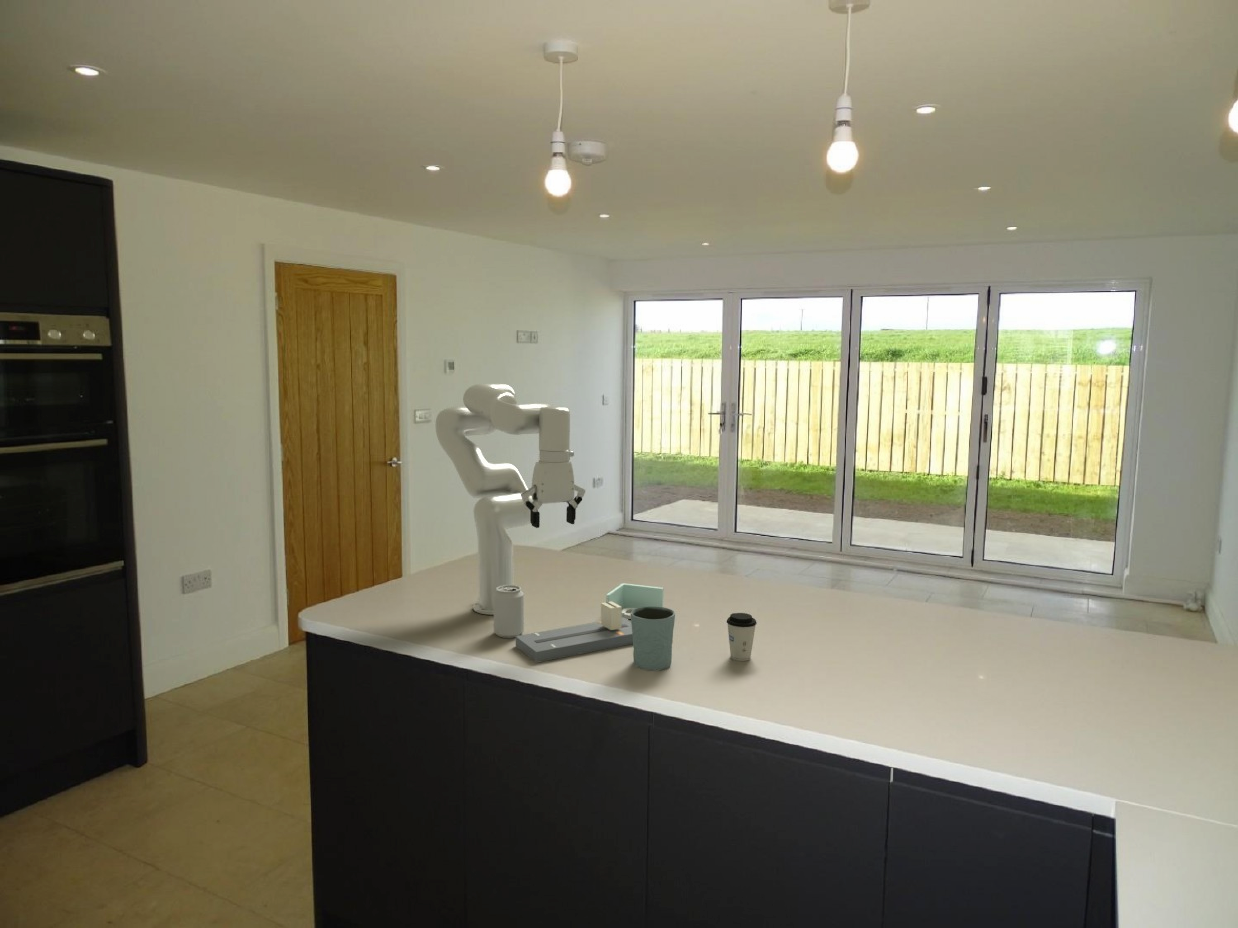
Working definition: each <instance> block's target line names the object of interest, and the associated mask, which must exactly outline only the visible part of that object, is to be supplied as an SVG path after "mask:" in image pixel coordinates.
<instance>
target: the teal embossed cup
mask: <svg viewBox="0 0 1238 928" xmlns="http://www.w3.org/2000/svg"><path fill="white" fill-rule="evenodd" d="M675 618H676V612H675V611H674V610H673V609H671V608H668V607H664V606H663V607H654V606H649V607H640V608H636V609H634V610H633V611H631V620H630V621H631V624H632V634H633V644H632V645H633V652H632V654H633V664H634V666H635V667H636V668H637V669H638V668H639V669H640V670H641V669H642V670H645V671H661V670H665V669H666V670H667V669H668V668H670V666H671V665H672V657H673V652H672V651H673V641H674V640H673V639H674V627H675V620H676V619H675Z"/></svg>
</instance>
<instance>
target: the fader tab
mask: <svg viewBox="0 0 1238 928" xmlns="http://www.w3.org/2000/svg"><path fill="white" fill-rule="evenodd" d="M600 621H601V625H603V626H604V627H606V628H608V629H610V630H615V629H621V623H622V607H621V606H619V605H617V604H616V603H614V602H612V601H611V602H606V601H605V602H601V603H600Z"/></svg>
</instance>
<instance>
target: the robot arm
mask: <svg viewBox="0 0 1238 928" xmlns="http://www.w3.org/2000/svg"><path fill="white" fill-rule="evenodd" d="M462 402H463V405H459V406H457V405H455V406H450V407H447V408H444V409H442V410H440V411H439V412H438V414H437V415H436V418H435V433H436V437H437V440H438V442H439V445H440V446H441V448H442V449H443V450H444V452H445V454H446V455H447V456H448V458H450V460H451V462H452V464H453V466H454V467H455V468H454V469H456V472H457V475H458V476H459V478H460V480H461V482H462V484H463V486H464V488H465V489H466V491H467V493H468V494H469V496H470V497H472V498H474V499H479V500H478V501H477V502H476V503H475V504H474V507H473V518H474V523H475V527H476V535H477V536H476V537H477V557H478V559H477V560H478V563H477V564H478V565H477V566H478V567H477V568H478V569H477V570H478V600H477V601H475V602H474V603H473V604H472V608H473V611H475V612H476V613H478V614H482V615H490V616H494V601H493V595H494V593H495V592H496V588H497V587H499V586H503V585H515V584H514V582H515V581H514V544H513V542H512V539H511V538H510V536H509V535H508V533H507V531H506V530H508V529H513V528H518V527H524V526H528V525H531V526H532V527H534V528H535V529H538V528H540V526H541V525H540V519H541V518H540V517H541V515H540V514H541V513H540V511H539V509H540V508H541V507H542V505H545V504H546V505H547V504H559V503H566V504H567V505H568V506H566V523H568V524H570V525H575V521H576V519H577V518H576V517H577V516H576V513H577V512H576V511H577V508H578V507H579V504H580V503H581V502H582V501H583V498H584V496H585V494H586V489H584V488H583V487H580V486H578V485H577V484H575V476H574V469H573V464H572V461H570V460H571V457H572V458H573V457H574V456H575V452H574V450H573V451H571V449H570V444H571V443H570V442H571V441H570V437H571V433H570V432H571V430H570V429H571V413H570V410H569V409H568V408H567V407H565V406H557V405H555V406H554V405H553V404H550V403H544V402H543V403H540V402H539V403H518V401H517V396H516V393H515V390H514V389H513V388H512V386H510V385H508V384H506V383H477V384H473V385H471V386H469V387H468V388H467V389H466V390H465V391H464V393H463V397H462ZM497 430H498V431H500V432H503V433H506V434H509V435H514V436H519V435H520V436H521V435H531V434H532V435H533V434H535V435H536V434H538V461H535V463H534V467H533V472H532V478H531V479H532V480H531V487H530V488H529V487H528V486H527V483H526V482H525V481H524V478H523V477H522V475H521V473H520V472H519V470H518V468H517V467H516V466H515V465H513V464H512V463H510V462H508V461H507V462H506V461H505V462H504V461H499V462H490V461H487V459H486V457H485V456H484V454H483V452H482V450H481V449H480V448H479V446H478V445H477V444H475V443H474V441H472V440H470V439H469V438H467V436H468V437H469V436H480V435H481V436H483V435H484V436H485V435H490V434H492V433H494V432H495V431H497ZM575 492H576V496H575Z"/></svg>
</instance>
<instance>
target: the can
mask: <svg viewBox="0 0 1238 928" xmlns="http://www.w3.org/2000/svg"><path fill="white" fill-rule="evenodd" d="M524 595H525V594H524V592H523V591H522V587H521V586H519V585H516V584H514V585H503V586H499V587H497V588H496V592H495V593H494V595H493V601H494V615H493V633H494V634H495V635H496V636H498V637H500V638H503V639H504V638H505V639H511V638H512V639H513V638H516V636H520V635H522V633H524V631H525V608H524V607H525V606H524V605H525V596H524Z"/></svg>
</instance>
